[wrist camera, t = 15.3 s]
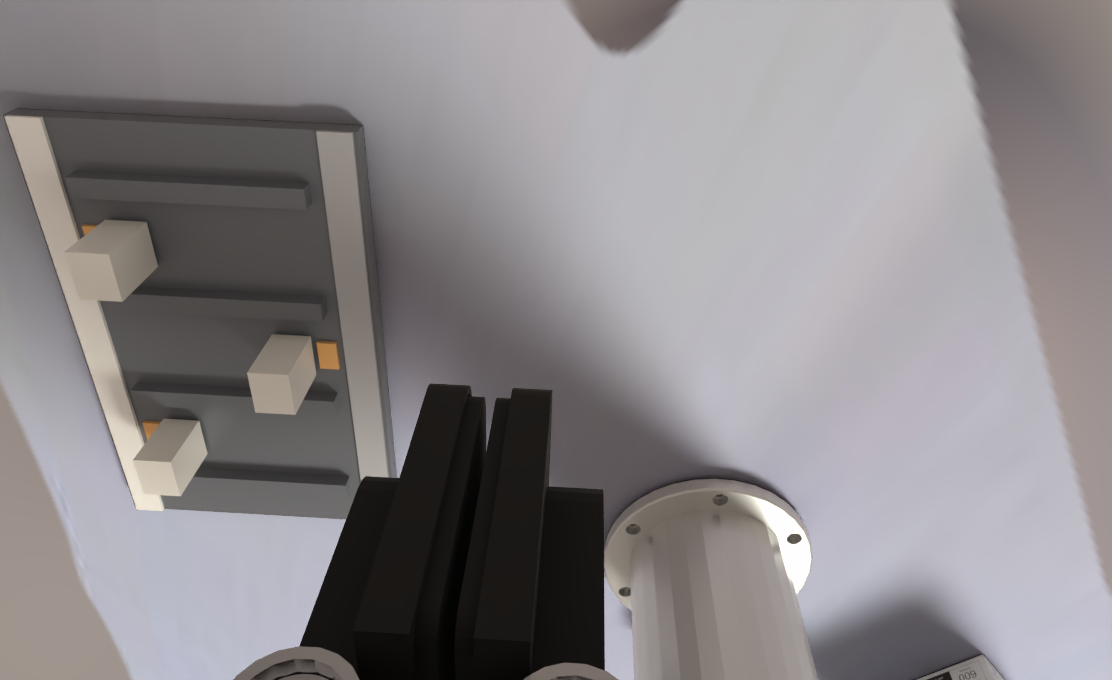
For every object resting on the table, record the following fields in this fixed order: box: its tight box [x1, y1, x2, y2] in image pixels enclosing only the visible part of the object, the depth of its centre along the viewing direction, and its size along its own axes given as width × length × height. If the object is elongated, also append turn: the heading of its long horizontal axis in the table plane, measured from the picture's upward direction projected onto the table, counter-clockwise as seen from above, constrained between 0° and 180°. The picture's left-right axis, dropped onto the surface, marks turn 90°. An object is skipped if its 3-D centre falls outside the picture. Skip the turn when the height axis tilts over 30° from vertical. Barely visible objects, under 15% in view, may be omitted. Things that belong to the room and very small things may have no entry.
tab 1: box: [64, 220, 158, 302], centre depth 37 cm, size 2×2×4 cm
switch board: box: [3, 109, 397, 519], centre depth 42 cm, size 24×16×2 cm, turn 178°
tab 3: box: [247, 334, 317, 415], centre depth 40 cm, size 2×2×4 cm
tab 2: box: [133, 419, 208, 496], centre depth 44 cm, size 2×2×4 cm
